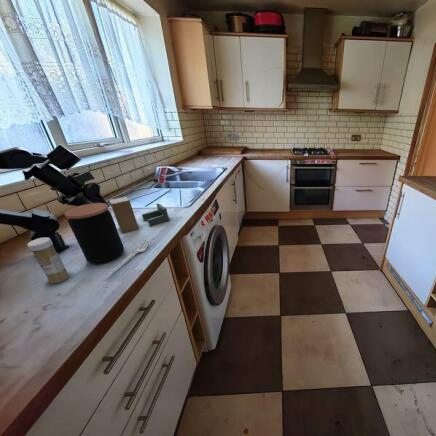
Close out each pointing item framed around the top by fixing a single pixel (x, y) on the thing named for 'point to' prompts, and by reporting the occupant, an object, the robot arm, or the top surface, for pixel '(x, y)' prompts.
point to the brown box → (124, 214)
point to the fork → (139, 249)
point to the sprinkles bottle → (48, 259)
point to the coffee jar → (95, 232)
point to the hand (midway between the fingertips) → (101, 207)
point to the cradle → (156, 215)
